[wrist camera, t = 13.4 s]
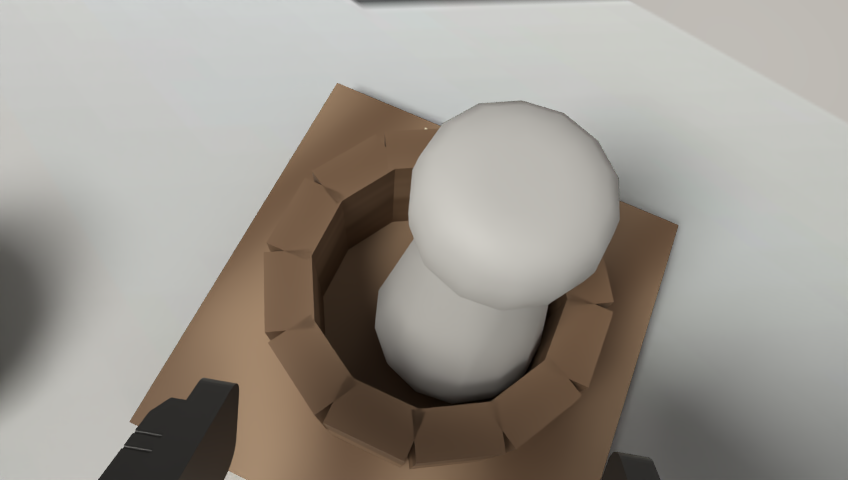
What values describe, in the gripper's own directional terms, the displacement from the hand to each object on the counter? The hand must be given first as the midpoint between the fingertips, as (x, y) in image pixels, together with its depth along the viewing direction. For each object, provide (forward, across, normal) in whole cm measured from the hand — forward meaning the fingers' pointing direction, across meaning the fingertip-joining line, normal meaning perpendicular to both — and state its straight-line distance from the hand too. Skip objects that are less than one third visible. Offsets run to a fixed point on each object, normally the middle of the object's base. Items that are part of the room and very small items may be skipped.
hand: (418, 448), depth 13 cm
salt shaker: (+10, -1, +3) cm, 11 cm away
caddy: (+12, 0, +4) cm, 12 cm away
